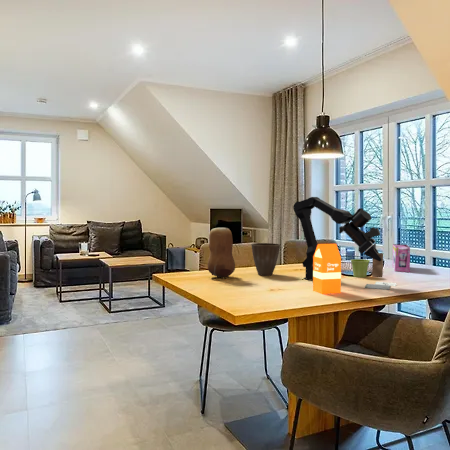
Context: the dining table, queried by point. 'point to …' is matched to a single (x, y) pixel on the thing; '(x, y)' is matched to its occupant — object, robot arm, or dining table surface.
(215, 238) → the butternut squash
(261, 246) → the plant pot
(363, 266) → the plant pot
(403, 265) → the gum box
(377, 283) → the tile
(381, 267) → the block
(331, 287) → the orange juice
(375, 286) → the coaster
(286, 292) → the dining table surface
